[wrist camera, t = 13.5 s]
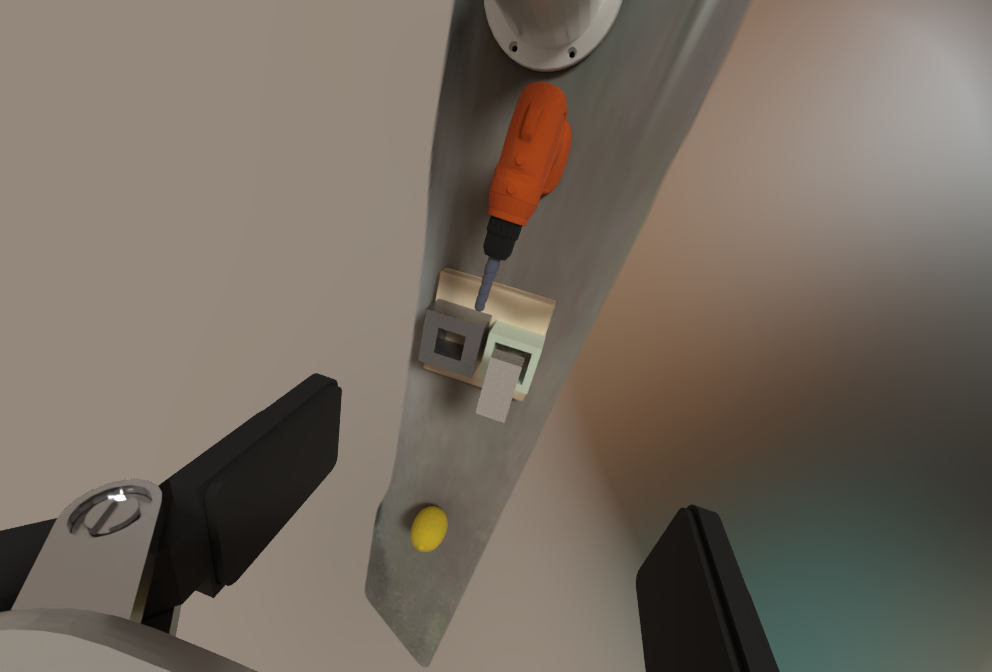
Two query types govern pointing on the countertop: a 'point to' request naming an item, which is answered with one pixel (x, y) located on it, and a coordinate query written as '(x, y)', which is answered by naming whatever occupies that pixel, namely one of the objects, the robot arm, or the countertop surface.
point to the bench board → (493, 313)
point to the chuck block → (447, 352)
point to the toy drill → (524, 172)
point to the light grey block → (500, 383)
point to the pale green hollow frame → (517, 340)
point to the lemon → (428, 528)
